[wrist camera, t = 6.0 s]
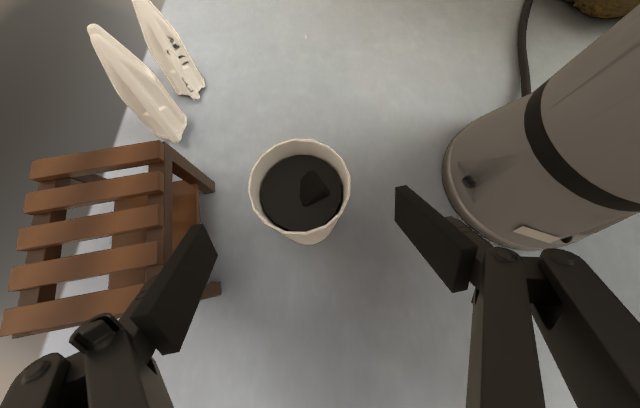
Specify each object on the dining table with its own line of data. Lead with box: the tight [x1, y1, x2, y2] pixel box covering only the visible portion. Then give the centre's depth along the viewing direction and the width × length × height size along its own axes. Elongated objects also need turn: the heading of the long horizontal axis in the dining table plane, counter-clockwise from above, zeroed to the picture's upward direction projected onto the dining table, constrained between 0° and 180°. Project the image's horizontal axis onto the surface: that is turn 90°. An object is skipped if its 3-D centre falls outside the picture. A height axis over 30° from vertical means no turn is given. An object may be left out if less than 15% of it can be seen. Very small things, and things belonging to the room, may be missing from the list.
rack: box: [0, 140, 221, 339], centre depth 19 cm, size 9×12×9 cm
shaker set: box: [87, 0, 205, 143], centre depth 23 cm, size 12×4×11 cm, turn 175°
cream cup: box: [248, 138, 351, 245], centre depth 19 cm, size 7×7×10 cm
